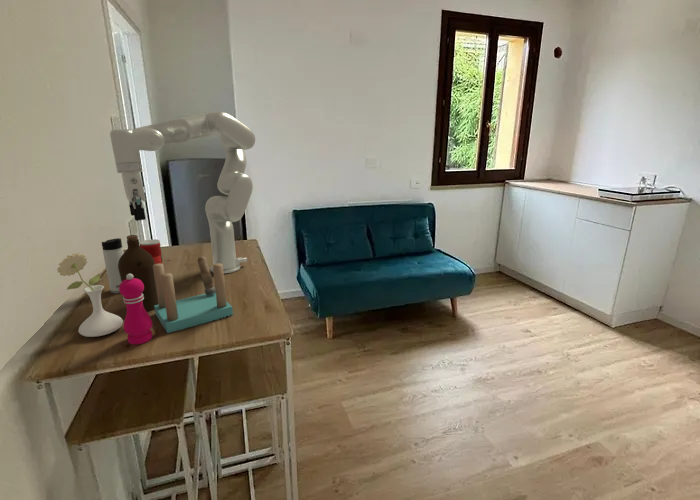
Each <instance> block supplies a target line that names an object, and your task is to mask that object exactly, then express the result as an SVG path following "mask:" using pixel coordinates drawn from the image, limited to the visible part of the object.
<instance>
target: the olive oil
mask: <svg viewBox="0 0 700 500" xmlns="http://www.w3.org/2000/svg"><path fill="white" fill-rule="evenodd" d="M138 237H139V236H138V235H137V234H130V235H127V236H126V245H127V248H126V250H125V251H123V252H124V254H123V255H122V256H121V257H120V259H119V262H118V269H119V273H120V277H121V281H122V282H123V281H124V280H126V279H127V278H126V276H127V274H132V275H133V276H134V277H133V278H136V279H139V280H141V281H142V282H143V284H144V290H143V292H142V294H143V297H144V299H143V306H144V309H145V310H146V312H147V313H148V312H150V311H153V310H155V308H154V305H158V304H159V303H158V297H157V290H156V284H155V277H154V271H153V265H154V264H155V262H154V259H153V257H152V256H151V254H149V253H148V252H147V251H145V250H144V249H142V248H141V247H140V240H139V238H138Z"/></svg>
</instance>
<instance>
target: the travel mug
mask: <svg viewBox="0 0 700 500" xmlns="http://www.w3.org/2000/svg"><path fill="white" fill-rule="evenodd" d="M101 247H102V253H103V259H104V264H105V269H106V274H107V275H106V276H107V279H108V286H109V292H110V293H112V294H121V293H120V291H119V286H120V284H121V283H122V281H121V277H120V273H119V269H118V262H119V259H120V257H121V256H122V255H123V254H124V252H125V251H124V247H123V243H122V238H117V237H116V238H112V239H108V240H105V241H102V242H101Z"/></svg>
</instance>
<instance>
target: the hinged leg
mask: <svg viewBox="0 0 700 500" xmlns="http://www.w3.org/2000/svg"><path fill="white" fill-rule="evenodd" d="M197 264H198V268H199V271H200V275H201V279H202V283H203V286H204V294H206V295H210V294H214V293H216V292H215V285H214V280H213V278H212V273H211V271H210V267H209V262H208V259H207V257H205V256H203V255H201V256H199V257H198V259H197Z"/></svg>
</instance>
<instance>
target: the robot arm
mask: <svg viewBox="0 0 700 500" xmlns="http://www.w3.org/2000/svg"><path fill="white" fill-rule="evenodd" d="M109 135H110V136H109V137H110V140H111V141H110V142H111V146H112V147H111V148H112V153H113V156H114V161H115V162H114V163H115V167H116V172H117V174H121V178H122V183H123V187H124V189H123V190H124V193H125V195H126V199H127V201H128V203H129V204H128V207H129V211H130V215H131V216H133V218H134V220H135V222H138V221H145V220H146V214H145V208H144V205H143V202H145V201H146V200H147V199H146V195H145V191H144V190H145V189H144V185H143V181H142V177H141V173H142V172H143V167H142V166H143V165H142V161H141V154H140V151H147V152H155V151H159V150H160V149H162V148H163V147H164V145H167V144H180V143H189V142H193V141H197V140H199V139H202V138H207V137H211V136H214V135H215V136H218V135H219V141H220V143H221V145H222V147H223V149H224V151H225V161H224V165H223V167H222V169H221V172H220V174H219V177H218V181H217V184H216V185H217V187H216V188H217V190H218V191H219V192H220V193H222V194H224V195H227V196H222V195H214V196H211V197H209V198H208V200H207V201H206V203H205V205H204V207H205V208H204V210H205V214H206V218H207V221H208V226H209V227H208V228H209V236H210V244H211V251H212V252H211V253H212V263H213V264H217V263H221V264H223V272H224V274H229V273H235V272H237V271H238V270H241V263H246V262H248V258H247V257H246V256H245V257H241V256H239V257H237V254H236V253H237V252H236V243H235V231H234V225H233V223H236V222H239V221H240V220H241V219H242V218H243V216H244V214H245V213H246V210H247V207H248V204H249V201H250V199H251V195H252V193H253V189H254V188H253V187H254V186H253V181H252V179H251V177H250V176H249V175H248V174H245V171H246V167H247V156H246V154H245V150H246V151H247V150H250V149H252V148H253V147H254V146H255V143H256V135H255V134H254V132H253V130H252V129H251V128H249V127H248V126H247V125H245V124H244V123H242V122H241V121H239V120H238V119H236V118H235V117H234V116H232V115H231V114H229V113H228V112H225V111H208V112H203V113H198V114H194V115H188V116H184V117H180V118H175V119H172V120H168V121H167V120H166V121H163V122H158V123H153V124H148V125H143V126H139V127H136V128H132V129H130V128H128V129H127V128H122V129H121V128H119V129H117V128H116V129H112V130H110V132H109ZM213 264H212V265H211V266H210V267H209V270H210V273H213Z"/></svg>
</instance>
